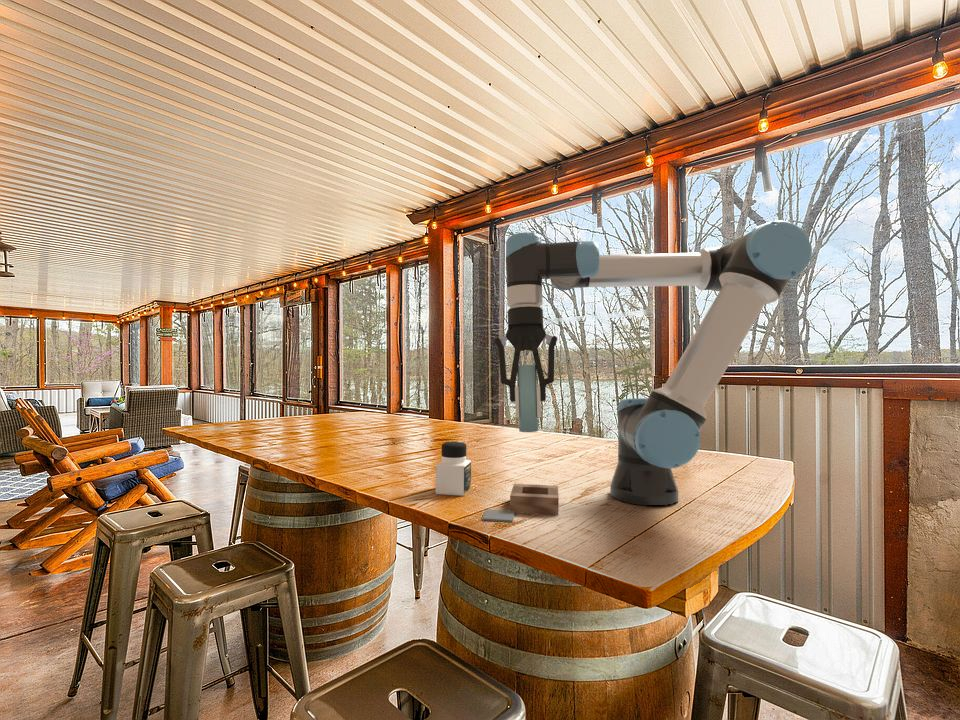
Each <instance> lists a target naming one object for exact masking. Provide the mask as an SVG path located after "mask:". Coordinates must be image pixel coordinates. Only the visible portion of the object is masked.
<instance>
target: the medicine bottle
mask: <svg viewBox="0 0 960 720" xmlns="http://www.w3.org/2000/svg"><path fill="white" fill-rule="evenodd" d="M471 488H472V460H470V459H467V444H466V442H462V441H457V440H455V441H454V440H453V441H452V440H450V441H445V442H444V443H442V444H441V461H439V462H438V463H436V465H435V495H444V496H445V495H446V496H460V497H462V496H463V497H464V496H465V495H466V494H467V493H468V492H469V491H470V490H471Z"/></svg>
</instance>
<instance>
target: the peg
mask: <svg viewBox="0 0 960 720" xmlns="http://www.w3.org/2000/svg"><path fill="white" fill-rule="evenodd" d="M536 386H538V384H537V370H536V365H535V364H529V365H528V364H526V365H525V364H523V365H522V364H521V365H520V364H519V365H518V370H517V387H519V418H518V427H519V428H518V430H519V432H520V433H535V432H538V431H539V420H538V418H537V389H536Z"/></svg>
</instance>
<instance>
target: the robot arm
mask: <svg viewBox="0 0 960 720" xmlns="http://www.w3.org/2000/svg"><path fill="white" fill-rule="evenodd" d="M812 254H813V248H812V244H811V242H810V240H809V236H808V235H807V233H806V232H805V231H804V230H803V229H802V228H801V227H799V226H798V225H797V224H794V223H793V222H789V221H785V220H772V221H769V222H766V223H763V224H760V225H758V226H756V227H754V228H753V229H752V230H750V232H748V233H746V234H745V235H743V236H741V237H740V238H738V239H736V240H734V241H733V242H729V243H728V244H724V245H721V246H716V247H703V248H701V249H700V250H699V251H697V252H677V253H670V252H669V253H638V254H636V253H634V254H633V253H632V254H631V253H630V254H629V253H628V254H600V248H599V244H598V243H597V242H596V241H592V240H589V241H588V240H578V241H565V242H552V243H551V242H550V243H549V242H548V243H545V242H542V240H541V237H540V235H539V234H538V233H535V232H528V231H527V232H519V233H517V232H516V233H513V234H512V235H510V236H509V237H508V238H507V239H506V242H505V270H506V271H505V272H506V276H505V277H506V300H507V301H506V302H507V303H506V304H507V307H508V310H507V331H506V333H505V335H503V336H500V337H499V338H498V337H496V338H495V339H494V343H495V345H496V347H497V350H498V362H499V363H498V365H499V375H500V376H499V377H500V383H501V384H502V385H505V386H508V388H509V400H510V402H511V403H515V419H519V387H518V386H516V383H517V378H518V374H517V370H518V365H520V358H521V353H522V352H524V351H528V352H532V356H533V360H534V365H536V375H537V378H538V382H539V385H537V386H536V389H537V418H542V414H541V413H542V410H541V409H542V406H541V404H542V403H541V402H546V399H547V396H546V395H547V392H546V387H547V385H549V384H552V383H553V382H554V381H555V346H556V345H557V342H558V336H555V335H550V334H548V333H547V332H546V330H545V328H544V309H543V307H541V306H542V305H543V303H544V302H543V283H542V281H543V280H550V282H551V284H552V285H553V286H554V287H555V288H556V289H557V290H560V291H570V290H572V289H574V288H575V289H580V288H623V287H625V288H626V287H627V288H629V287H633V288H634V287H693V286H695V287H696V288H697V289H698V290H699V291H718V294H717V295H716V297H715V299H714V300H713V302H712V304H711V305H710V307H709V309H708V311H707V312H706V314H705V316H704V317H703V319H702V321H701V322H700V324H699V326H698V327H697V329H696V331H695V333H694V334H693V336H692V338H691V339H690V342H688V345H687V346H686V348H685V350H684V352H683V353H682V355H681V357H680V359H679V360H678V362H677V363H676V365H675V367H674V368H673V370H672V372H671V373H670V376H669V377H668V379H667V380H666V382H665V384H664V386H662V387H659V388H655V389H652V391H651V393H650V395H649V396H648V397H635V398H624V399H622V400H620V401H619V402H618V409H617V412H616V413H617V465H616V467H615V470H614V473H613V476H612V479H611V482H610V488H609V489H610V490H609V491H610V492H609V493H610V494H609V495H610V497H612V498H613V499H615V500H618V501H621V502H625V503H628V504H633V505H639V506H647V505H665V506H668V505H667V504H671V505H673V504H672V503H675V502H677V501H678V502H679V488H678V486H677V482H676V479H675V476H674V473H673V471H672V469H676V468H679V467H682V466H684V465H686V464H688V463H689V462H690V461H691V460H693V458H694V457H695V456H696V455H697V453H698V452H699V449H700V446H701V433H700V432H701V430H702V428H703V426H704V425H705V423H706V420H707V419H708V418H707V414H706V410H705V406H706V404H707V402H708V401H709V400H710V398H711V397H712V394H713V392H714V390H715V389H716V388H717V386H718V384H719V383H720V380H721V379H722V377H723V376H724V374H725V372H726V370H727V369H728V368H729V366H730V364H731V362H732V361H733V359H734V356H735V355H736V354H737V352H738V350H740V347H741V345H742V343H743V342H744V340H745V339H746V337H747V335H748V333H749V332H750V330H751V329H752V327H753V325H754V324H755V321H756V320H757V319H758V317H759V315H760V313H761V311H762V309H764V306H765V305H768V304H771V303H774V302H775V303H776V302H777V301H778V299H779V298H780V296H781V294H782V293H783V291H784V289H785V287H786V285H788V282H789V281H790V279H794V278H796V277H798V276H799V275H800V274H801V273H802V272H803V271H805V270H806V268H807V267H808V266H809V264H810V262H811V259H812ZM543 340H546V341H545V342H546V345H547V346H548V348H547V377H546V378H545V375H544V370H543V367H542V362H541V358H540V354H539V349H538V348H539V347H540V345H541V344H542V343H543ZM507 341H509V344H511V346H512V347H513V348H514V353H513V359H512V367H511V372H510V378H509V379H508V378H507V377H508V376H507V364H506V363H507V361H506V351H505V347H506V345H507ZM678 502H677V503H678ZM675 504H676V503H675Z"/></svg>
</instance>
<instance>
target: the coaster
mask: <svg viewBox="0 0 960 720" xmlns="http://www.w3.org/2000/svg"><path fill="white" fill-rule="evenodd" d="M515 515H516V513H515V511H510V509H509V510H508V509H507V510H505V509H488V508H486V509H485V511H484V514H483V516H482V518H481V519H482V521H487V522H489V521H490V522H501V523H502V522H503V523H513V522H514V517H515Z"/></svg>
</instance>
